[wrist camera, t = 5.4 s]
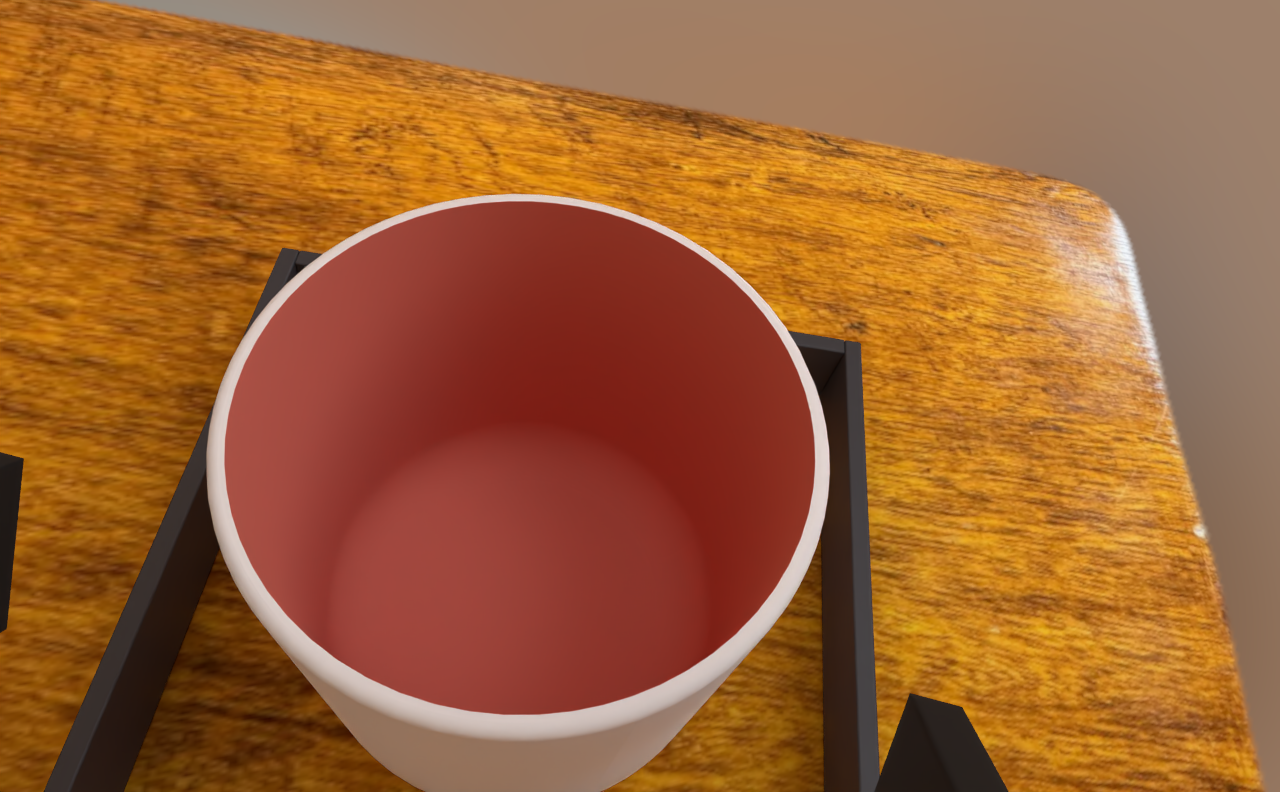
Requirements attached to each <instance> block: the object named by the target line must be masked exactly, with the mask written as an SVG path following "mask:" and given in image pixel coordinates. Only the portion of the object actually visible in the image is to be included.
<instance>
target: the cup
mask: <svg viewBox="0 0 1280 792" xmlns="http://www.w3.org/2000/svg"><path fill="white" fill-rule="evenodd" d="M206 462H207V490H208V501H209V506H210V511H211V517H212V522H213V527H214V531H215V534H216V537H217V540H218V543H219V546H220V549H221V552H222V555H223V558H224V560H225V563H226V565H227V567H228V569H229V571H230V573H231V576H232V578H233V580H234V582H235V584H236V586H237V587H238V589H239V591H240V593H241V594H242V596H243V597H244V599H245V601H246V602H247V604H248V605H249V607H250V609H251V610H252V611H253V613H254V614H255V615H256V617H257V618H258V619H259V621H260V622H261V623H262V625H263V626H264V627H265V628H266V629H267V631H268V632H269V633H270V634H271V636H272V637H273V638H274V639H275V641H276V642H277V643H278V644H279V645H280V647H281V648H282V649H283V650H284V652H285V653H286V654H287V655H288V656H289V658H290V659H291V660H292V661H293V663H294V664H295V665H296V666H297V667H298V669H299V670H300V671H301V672H302V674H303V675H304V676H305V677H306V678H307V680H308V681H309V682H310V683H311V685H312V686H313V687H314V688H315V689H316V691H317V692H318V693H319V694H320V696H321V697H322V698H323V699H324V700H325V702H326V703H327V704H328V705H329V707H330V708H331V709H332V710H333V711H334V713H335V714H336V715H337V716H338V718H339V719H340V720H341V721H342V722H343V724H344V725H345V726H346V727H347V728H348V730H349V731H350V732H351V733H352V735H353V736H354V737H355V738H356V739H357V741H358V742H359V743H360V744H361V745H362V746H363V747H364V748H365V749H366V750H367V751H368V752H369V753H370V754H371V755H372V756H373V757H374V758H375V759H376V760H377V761H378V762H380V763H381V764H382V765H383V766H384V767H386V768H387V769H388V770H389V771H391V772H392V773H393V774H395V775H396V776H398V777H400V778H401V779H403V780H404V781H406V782H408V783H409V784H411V785H412V786H414V787H416V788H418V789H420V790H423V791H425V792H601V791H603V790H605V789H608V788H610V787H612V786H613V785H615V784H617V783H619V782H620V781H622V780H624V779H625V778H627V777H629V776H630V775H632V774H633V773H635V772H636V771H637V770H639V769H640V768H642V767H643V766H644V765H646V764H647V763H648V762H649V761H650V760H651V759H652V758H654V757H655V756H656V755H657V754H658V753H659V752H661V751H662V750H663V748H664V747H665V746H666V745H667V744H668V743H669V742H670V741H671V740H672V739H673V738H674V737H675V736H676V735H677V733H678V732H679V731H680V730H681V729H682V728H683V727H684V726H685V724H686V723H687V722H688V721H689V720H690V719H691V718H692V717H693V716H694V714H695V713H696V712H697V711H698V710H699V709H700V708H701V707H702V705H703V704H704V703H705V702H706V701H707V700H708V699H709V698H710V696H711V695H712V694H713V693H714V692H715V691H716V690H717V689H718V687H719V686H720V685H721V684H722V683H723V682H724V681H725V680H726V678H727V677H728V676H729V675H730V674H731V673H732V672H733V671H734V669H735V668H736V667H737V666H738V665H739V664H740V663H741V662H742V660H743V659H744V658H745V657H746V656H747V655H748V654H749V653H750V651H751V650H752V649H753V648H754V647H755V646H756V645H757V644H758V642H759V641H760V640H761V639H762V638H763V637H764V636H765V635H766V633H767V632H768V631H769V630H770V629H771V627H772V626H773V625H774V623H775V622H776V621H777V619H778V618H779V617H780V615H781V614H782V613H783V611H784V610H785V609H786V607H787V606H788V604H789V603H790V601H791V599H792V598H793V596H794V594H795V593H796V591H797V589H798V587H799V586H800V584H801V582H802V580H803V578H804V576H805V574H806V572H807V570H808V567H809V565H810V563H811V560H812V557H813V555H814V552H815V550H816V547H817V544H818V541H819V537H820V533H821V530H822V526H823V522H824V518H825V512H826V506H827V500H828V491H829V476H830V463H829V445H828V437H827V429H826V423H825V419H824V414H823V410H822V405H821V402H820V399H819V396H818V393H817V389H816V386H815V384H814V382H813V379H812V377H811V375H810V373H809V370H808V368H807V366H806V364H805V361H804V359H803V357H802V355H801V352H800V350H799V349H798V347H797V345H796V344H795V342H794V340H793V339H792V337H791V335H790V334H789V332H788V330H787V329H786V327H785V326H784V325H783V323H782V322H781V321H780V319H779V318H778V317H777V315H776V314H775V313H774V311H773V310H772V309H771V307H770V306H769V305H768V304H767V303H766V302H765V301H764V300H763V299H762V297H761V296H760V295H759V294H758V293H757V292H756V291H755V290H754V289H753V288H752V287H751V286H750V285H749V284H748V283H747V282H746V281H745V280H744V279H743V278H741V277H740V276H739V275H738V274H737V273H736V272H735V271H734V270H733V269H731V268H730V267H729V266H728V265H726V264H725V263H724V262H722V261H721V260H719V259H718V258H717V257H715V256H714V255H713V254H711V253H710V252H709V251H707V250H706V249H704V248H702V247H701V246H699V245H697V244H696V243H694V242H693V241H691V240H689V239H688V238H686V237H684V236H683V235H681V234H679V233H677V232H675V231H672V230H670V229H668V228H666V227H664V226H662V225H660V224H658V223H656V222H654V221H651V220H648V219H646V218H643V217H640V216H638V215H635V214H633V213H630V212H627V211H624V210H620V209H617V208H613V207H610V206H606V205H602V204H599V203H594V202H588V201H583V200H578V199H573V198H566V197H557V196H548V195H529V194H505V195H485V196H478V197H470V198H462V199H456V200H451V201H446V202H442V203H437V204H432V205H429V206H425V207H422V208H419V209H415V210H412V211H408V212H405V213H402V214H400V215H397V216H394V217H392V218H389V219H386V220H384V221H382V222H379V223H377V224H375V225H373V226H371V227H368V228H366V229H364V230H362V231H360V232H359V233H357V234H355V235H353V236H351V237H349V238H347V239H346V240H344V241H342V242H341V243H339V244H338V245H336V246H334V247H333V248H331V249H330V250H328V251H327V252H325V253H324V254H322V255H321V256H320V257H318V258H317V259H316V260H314V261H313V262H312V263H310V264H309V265H308V266H306V267H305V268H304V269H303V270H302V271H300V272H299V273H298V274H297V275H296V276H295V277H294V278H293V279H291V280H290V281H289V282H288V283H287V284H286V285H285V286H284V287H283V288H282V289H281V290H280V291H279V292H278V293H277V294H276V295H275V297H274V298H273V299H272V300H271V301H270V302H269V303H268V305H267V306H266V307H265V308H264V309H263V311H262V312H261V313H260V314H259V316H258V317H257V318H256V319H255V321H254V322H253V324H252V325H251V327H250V328H249V330H248V331H247V333H246V334H245V336H244V337H243V339H242V341H241V343H240V344H239V346H238V348H237V350H236V352H235V354H234V356H233V357H232V359H231V361H230V363H229V366H228V368H227V371H226V373H225V375H224V378H223V380H222V382H221V385H220V388H219V391H218V395H217V398H216V401H215V404H214V408H213V413H212V418H211V422H210V427H209V434H208V443H207V452H206Z"/></svg>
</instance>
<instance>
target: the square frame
mask: <svg viewBox="0 0 1280 792" xmlns="http://www.w3.org/2000/svg"><path fill="white" fill-rule="evenodd" d="M321 255H322V254H318V253H312V252H306V251H300V252H299V251H298V250H294V249H287V248H282V250H281V252H280V254H279V257H278V259H277V261H276V263H275V266H274V268H273V270H272V273H271V275H270V277H269V279H268V282H267V284H266V286H265V289H264V291H263V293H262V295H261V298H260V300H259V302H258V304H257V307H256V309H255V311H254V314H253V316H252V318H251V320H250V323H249V325H248V327H247V330H246V332H245V334H246V333H247V331H248V330H249V328H250V327H251V325H252V324H253V322H254V321H255V319H256V318H257V317H258V316H259V314H260V313H261V312H262V311H263V309H264V308H265V307H266V306H267V305H268V303H269V302H270V301H271V300H272V299H273V298H274V297H275V295H276V294H277V293H278V292H279V291H280V290H281V289H282V288H283V287H284V286H285V285H286V284H287V283H288V282H289V281H290V280H291V279H293V278H294V277H295V276H296V275H297V274H298V273H299V272H300V271H302V270H303V269H304V268H305V267H306V266H308V265H309V264H310V263H312V262H313V261H314V260H316V259H317V258H318V257H320V256H321ZM788 332H789V334H790V335H791V337H792V339H793V340H794V342H795V344H796V345H797V347H798V349H799V350H800V352H801V355H802V357H803V359H804V361H805V364H806V366H807V368H808V370H809V373H810V375H811V377H812V379H813V382H814V384H815V386H816V389H817V393H818V396H819V395H820V402H821V405H822V410H823V414H824V419H825V423H826V429H827V437H828V445H829V463H830V476H829V491H828V500H827V506H826V512H825V518H824V522H823V526H822V530H821V548H822V633H823V718H824V792H874V791H875V788H876V786H877V783H878V780H879V777H880V771H879V749H878V726H877V703H876V681H875V658H874V635H873V613H872V590H871V567H870V545H869V522H868V499H867V477H866V454H865V431H864V409H863V386H862V363H861V344H860V343H858V342H852V341H845V342H844V340H840V339H834V338H828V337H822V336H816V335H810V334H804V333H798V332H792V331H788ZM245 334H244V336H245ZM244 336H243V337H244ZM215 401H216V400H215ZM214 404H215V402H214ZM213 408H214V405H213V407H212V409H211V412H210V414H209V416H208V418H207V421H206V423H205V425H204V428H203V430H202V432H201V434H200V437H199V439H198V441H197V443H196V446H195V448H194V450H193V453H192V455H191V457H190V459H189V462H188V464H187V466H186V469H185V471H184V473H183V475H182V478H181V480H180V482H179V484H178V487H177V489H176V491H175V494H174V496H173V498H172V500H171V503H170V505H169V507H168V510H167V512H166V514H165V516H164V519H163V521H162V523H161V525H160V528H159V530H158V532H157V535H156V537H155V539H154V541H153V544H152V546H151V548H150V551H149V553H148V555H147V557H146V560H145V562H144V564H143V567H142V569H141V571H140V573H139V576H138V578H137V580H136V582H135V585H134V587H133V589H132V592H131V594H130V596H129V598H128V601H127V603H126V605H125V608H124V610H123V612H122V614H121V617H120V619H119V621H118V623H117V626H116V628H115V630H114V633H113V635H112V637H111V639H110V642H109V644H108V646H107V649H106V651H105V653H104V655H103V658H102V660H101V662H100V664H99V667H98V669H97V671H96V674H95V676H94V678H93V680H92V683H91V685H90V687H89V690H88V692H87V694H86V696H85V699H84V701H83V703H82V705H81V708H80V710H79V712H78V715H77V717H76V719H75V721H74V724H73V726H72V728H71V731H70V733H69V735H68V737H67V740H66V742H65V744H64V746H63V749H62V751H61V753H60V756H59V758H58V760H57V762H56V765H55V767H54V769H53V772H52V774H51V776H50V778H49V781H48V783H47V785H46V788H45V790H44V792H123V791H124V789H125V786H126V784H127V781H128V779H129V776H130V774H131V771H132V769H133V766H134V763H135V761H136V758H137V756H138V753H139V751H140V748H141V746H142V743H143V741H144V738H145V735H146V733H147V730H148V728H149V725H150V723H151V720H152V718H153V715H154V713H155V710H156V707H157V705H158V702H159V700H160V697H161V695H162V692H163V690H164V687H165V685H166V682H167V679H168V677H169V674H170V672H171V669H172V667H173V664H174V662H175V659H176V657H177V654H178V651H179V649H180V646H181V644H182V641H183V639H184V636H185V634H186V631H187V629H188V626H189V623H190V621H191V618H192V616H193V613H194V611H195V608H196V606H197V603H198V601H199V598H200V595H201V593H202V590H203V588H204V585H205V583H206V580H207V578H208V575H209V573H210V570H211V567H212V565H213V562H214V560H215V557H216V555H217V552H218V550H219V547H220V546H219V543H218V540H217V537H216V534H215V531H214V527H213V522H212V517H211V511H210V506H209V501H208V490H207V462H206V452H207V443H208V434H209V427H210V422H211V418H212V413H213Z"/></svg>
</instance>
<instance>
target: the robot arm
mask: <svg viewBox="0 0 1280 792" xmlns="http://www.w3.org/2000/svg"><path fill="white" fill-rule="evenodd" d="M23 460H24V459H23V458H20V457H16V456H12V455H8V454H5V453H1V452H0V633H1V632H2V631H4V630H6V629H7V620H8V610H9V600H10V590H11V580H12V570H13V560H14V550H15V540H16V530H17V520H18V510H19V500H20V490H21V480H22V470H23ZM874 792H1008V790H1007V788H1006V786H1005V784H1004V783H1003V781H1002V779H1001V777H1000V775H999V773H998V772H997V770H996V768H995V766H994V764H993V763H992V761H991V759H990V757H989V755H988V753H987V752H986V750H985V748H984V746H983V744H982V743H981V741H980V739H979V737H978V735H977V733H976V732H975V730H974V728H973V726H972V724H971V722H970V721H969V719H968V717H967V715H966V713H965V712H964V710H963V708H962V707H960V706H956V705H952V704H948V703H945V702H941V701H937V700H933V699H930V698H926V697H922V696H918V695H914V694H911V693H910V695H909V698H908V700H907V703H906V706H905V709H904V711H903V714H902V717H901V720H900V722H899V725H898V728H897V731H896V733H895V736H894V739H893V742H892V744H891V747H890V750H889V753H888V755H887V758H886V761H885V764H884V766H883V769H882V772H881V775H880V777H879V780H878V783H877V786H876V788H875V791H874Z"/></svg>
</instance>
